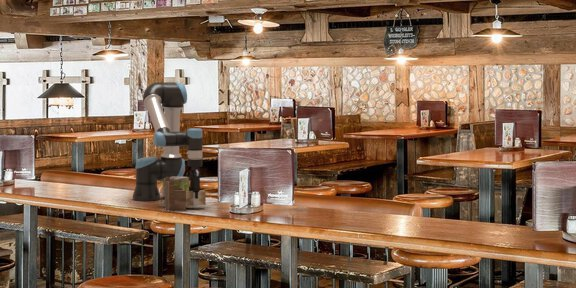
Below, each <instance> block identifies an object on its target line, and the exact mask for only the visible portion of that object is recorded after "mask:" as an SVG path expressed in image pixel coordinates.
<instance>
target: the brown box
mask: <svg viewBox="0 0 576 288" xmlns="http://www.w3.org/2000/svg"><path fill="white" fill-rule="evenodd" d="M165 208H166V211H168V210H169V211H168V212H186V211H187V206H186V191H185V190H182V188H174V179H170V177H165V206H164V209H165Z"/></svg>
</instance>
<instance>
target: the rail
mask: <svg viewBox="0 0 576 288" xmlns="http://www.w3.org/2000/svg"><path fill="white" fill-rule="evenodd" d="M206 196H207V195H206V190H200V191H199V205H193V192H192V191H191V190H189V191H186V207H191V206H193V207H194V206H206V205H207V203H206Z"/></svg>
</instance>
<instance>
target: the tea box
mask: <svg viewBox="0 0 576 288" xmlns="http://www.w3.org/2000/svg"><path fill="white" fill-rule="evenodd" d="M170 179H174V188H182V190H185V191H190V176H182V177H170ZM161 204H162V205H161V206H162V207H165V178H164V179H163V180H162V203H161Z"/></svg>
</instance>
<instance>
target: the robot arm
mask: <svg viewBox="0 0 576 288" xmlns="http://www.w3.org/2000/svg"><path fill="white" fill-rule="evenodd" d="M142 102H143V105H144V107H145V108H147V111H148V114H149V117H150V120H151V122H152V126H153V128H154V133H153V137H152V140H153V145H154V146H155V147H163V152H162V153H161V154H160V158H158V156H145V157H142V158H138V159H136V161H135V168H134V169H135V186H134V190H133V193H132V200H133V201H138V202H139V201H140V202H141V201H142V202H152V201H160V200H161V193H160V191H159V187H158V181H163V179H164V178H165V177H184V174H185V169H186V164H185V163H186V162H185V159H184V158H182V157H183V155H181V154H180V147H187V152H186V155H187V158H188V159H187V167H188V168H189V167H191V168H190V170H189V190H190V191H192V192H193V205H197V206H200V205H199V191H201V172H200V169H199V168H201V167H203V129H202V128H199V127H198V128H197V127H196V128H188V129H187V130H186V131H181V111H182V109H183V108H184V105H185V104H187V102H188V93H187V88H186V86H185V84H184V83H182V82H174V81H172V82H171V81H168V82H165V81H164V82H162V81H161V82H160V81H157V82H153V83H150V84H149V85H147V86H146V88H145V89H144V92H143V94H142Z"/></svg>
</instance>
